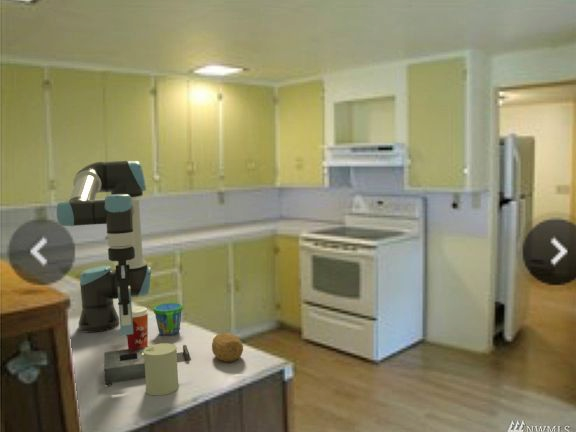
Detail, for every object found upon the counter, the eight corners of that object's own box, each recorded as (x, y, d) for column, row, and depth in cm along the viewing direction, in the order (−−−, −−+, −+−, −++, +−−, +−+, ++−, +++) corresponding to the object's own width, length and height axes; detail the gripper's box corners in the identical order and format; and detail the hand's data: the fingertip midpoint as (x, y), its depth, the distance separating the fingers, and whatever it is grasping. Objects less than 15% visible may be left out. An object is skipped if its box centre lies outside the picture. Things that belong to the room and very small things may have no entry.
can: (148, 382, 149) (146, 342, 147) (180, 380, 150) (178, 340, 148) (142, 396, 140) (140, 354, 138) (176, 394, 140) (174, 352, 139)
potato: (233, 349, 172) (232, 326, 171) (250, 363, 160) (249, 339, 159) (205, 355, 168) (204, 332, 167) (221, 370, 155) (220, 345, 155)
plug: (120, 331, 155) (117, 287, 154) (132, 330, 156) (130, 285, 155) (120, 335, 152) (117, 289, 150) (133, 333, 153) (130, 288, 152)
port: (105, 367, 160) (104, 351, 160) (151, 360, 165) (150, 345, 164) (105, 385, 147) (103, 368, 146) (154, 377, 151) (153, 360, 151)
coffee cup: (143, 357, 167) (141, 313, 166) (120, 356, 169) (117, 312, 167) (155, 348, 175) (152, 306, 174) (133, 347, 177) (130, 305, 175)
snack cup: (183, 338, 185) (182, 311, 183) (153, 341, 183) (152, 313, 181) (183, 325, 200) (182, 299, 199) (156, 327, 198) (154, 302, 197)
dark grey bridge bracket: (163, 356, 168) (163, 348, 167) (188, 353, 170) (187, 344, 170) (166, 365, 160) (165, 356, 160) (191, 361, 163) (191, 352, 162)
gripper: (108, 243, 158) (113, 316, 161) (107, 251, 142) (113, 333, 145) (133, 241, 160) (137, 313, 163) (135, 249, 145) (140, 329, 147)
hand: (126, 322), depth 154 cm, fingers closed on plug, 4 cm apart
